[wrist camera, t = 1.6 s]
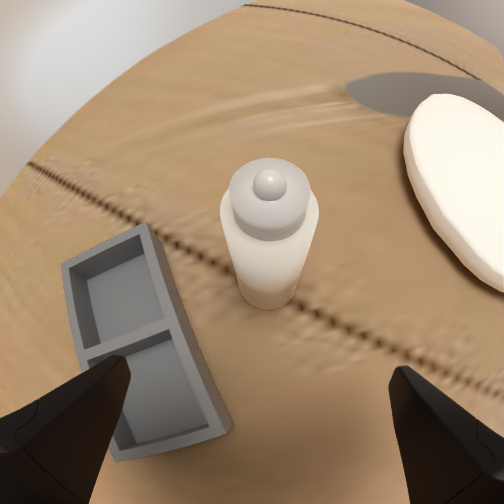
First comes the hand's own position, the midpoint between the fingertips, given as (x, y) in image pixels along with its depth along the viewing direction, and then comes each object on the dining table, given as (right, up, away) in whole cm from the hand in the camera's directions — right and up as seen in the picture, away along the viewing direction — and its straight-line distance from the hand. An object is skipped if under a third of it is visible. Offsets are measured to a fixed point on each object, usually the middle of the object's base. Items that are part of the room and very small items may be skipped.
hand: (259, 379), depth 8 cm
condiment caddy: (-9, -4, +13) cm, 16 cm away
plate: (+29, +11, +19) cm, 36 cm away
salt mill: (+1, +1, +15) cm, 15 cm away
